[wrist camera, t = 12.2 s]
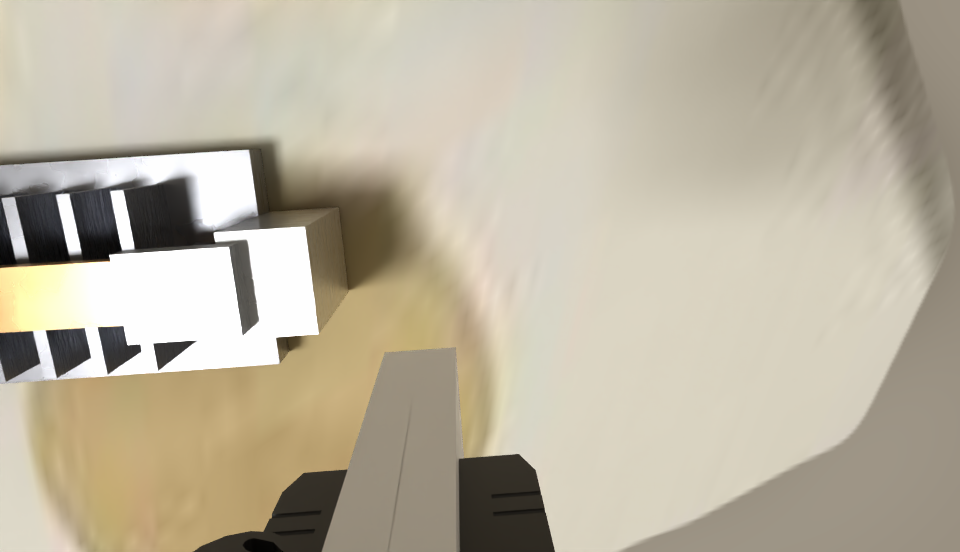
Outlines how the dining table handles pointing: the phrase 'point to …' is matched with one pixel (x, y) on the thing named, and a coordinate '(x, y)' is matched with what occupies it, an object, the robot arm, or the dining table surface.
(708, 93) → the dining table surface
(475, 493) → the robot arm
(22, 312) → the strap
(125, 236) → the heatsink
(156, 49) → the dining table surface
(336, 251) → the block
